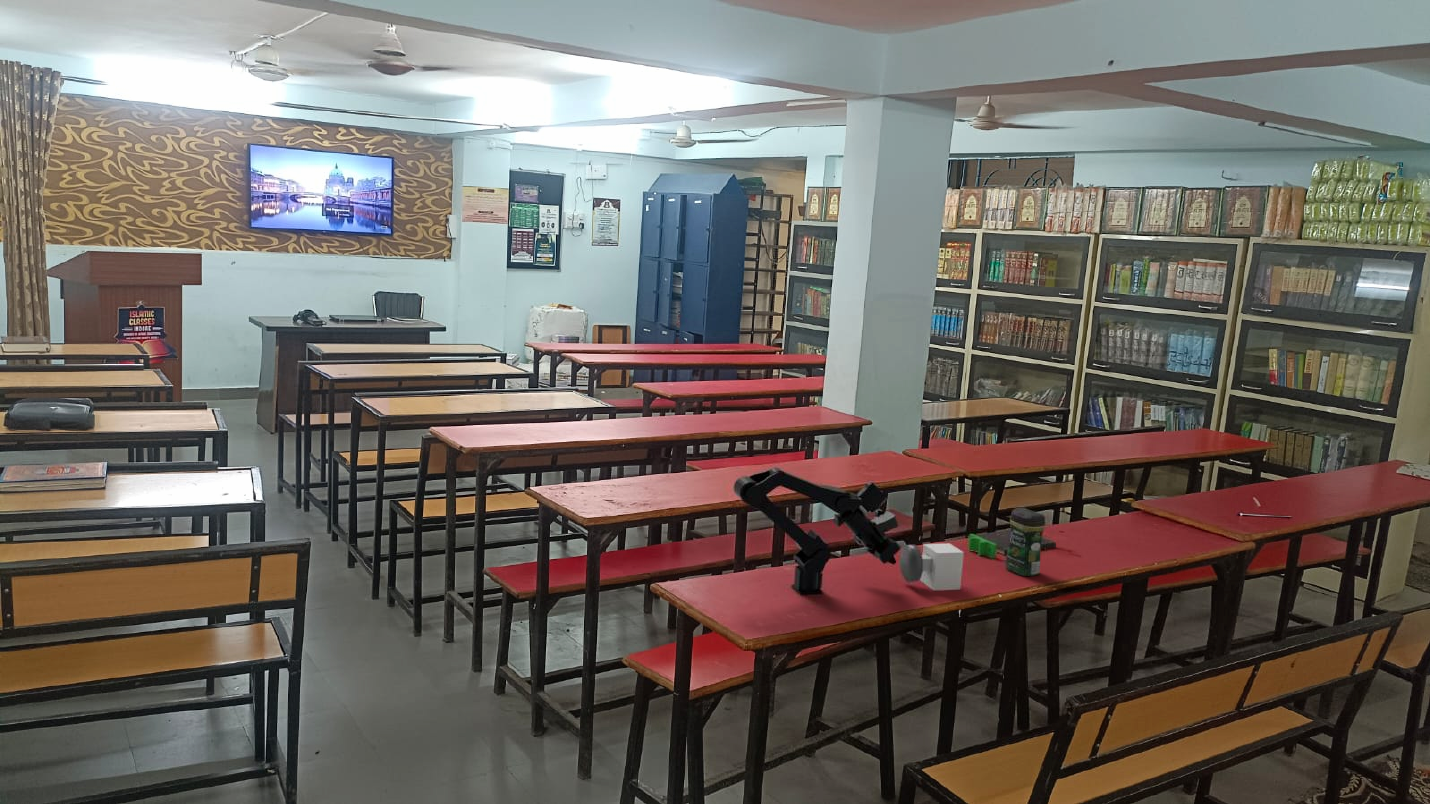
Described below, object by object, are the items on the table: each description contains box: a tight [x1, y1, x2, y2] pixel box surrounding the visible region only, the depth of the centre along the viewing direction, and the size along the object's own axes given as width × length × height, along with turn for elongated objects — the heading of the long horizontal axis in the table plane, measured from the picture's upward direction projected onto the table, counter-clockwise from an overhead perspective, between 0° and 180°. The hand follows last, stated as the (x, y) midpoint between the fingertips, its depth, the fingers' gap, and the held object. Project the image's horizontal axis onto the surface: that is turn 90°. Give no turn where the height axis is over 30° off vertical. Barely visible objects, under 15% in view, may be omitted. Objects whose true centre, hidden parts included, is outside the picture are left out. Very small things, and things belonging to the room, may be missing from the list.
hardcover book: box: [966, 529, 1057, 556], centre depth 313 cm, size 16×23×2 cm
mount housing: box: [919, 543, 965, 591], centre depth 270 cm, size 8×8×10 cm
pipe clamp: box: [967, 533, 997, 559], centre depth 302 cm, size 11×4×5 cm, turn 26°
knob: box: [899, 544, 933, 583], centre depth 268 cm, size 7×10×10 cm
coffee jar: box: [1004, 507, 1046, 577], centre depth 285 cm, size 10×8×19 cm
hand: (894, 563), depth 266 cm, fingers closed
